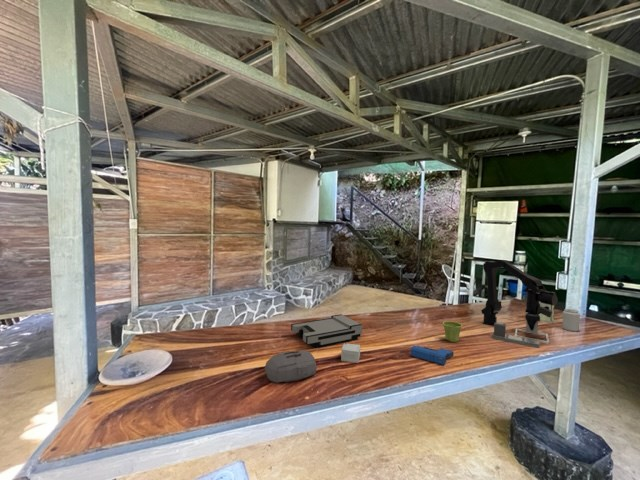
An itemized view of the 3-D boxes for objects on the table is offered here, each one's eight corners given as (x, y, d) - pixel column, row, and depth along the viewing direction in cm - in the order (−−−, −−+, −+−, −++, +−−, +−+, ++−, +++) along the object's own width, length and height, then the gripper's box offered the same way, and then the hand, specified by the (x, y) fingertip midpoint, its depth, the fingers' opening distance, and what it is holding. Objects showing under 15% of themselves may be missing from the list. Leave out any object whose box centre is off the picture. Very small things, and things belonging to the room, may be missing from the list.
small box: (358, 363, 120) (358, 351, 119) (340, 361, 121) (340, 349, 121) (360, 355, 127) (360, 344, 127) (343, 353, 129) (343, 342, 129)
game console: (291, 336, 149) (291, 321, 149) (341, 327, 164) (341, 314, 164) (307, 351, 131) (307, 334, 131) (362, 340, 146) (362, 324, 146)
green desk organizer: (532, 316, 191) (532, 296, 190) (550, 319, 186) (551, 298, 186) (536, 321, 181) (537, 299, 181) (556, 323, 177) (557, 301, 177)
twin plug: (493, 335, 151) (494, 323, 151) (494, 332, 155) (495, 321, 155) (504, 337, 148) (505, 325, 148) (505, 334, 152) (505, 323, 152)
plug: (526, 331, 153) (526, 320, 153) (526, 329, 157) (526, 318, 157) (537, 333, 150) (537, 322, 150) (537, 331, 154) (537, 319, 154)
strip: (492, 338, 150) (492, 335, 150) (493, 333, 157) (494, 331, 157) (539, 348, 138) (539, 345, 138) (538, 342, 145) (538, 339, 145)
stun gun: (420, 340, 139) (410, 347, 127) (454, 348, 129) (446, 356, 117) (420, 349, 138) (409, 356, 126) (453, 357, 129) (446, 366, 117)
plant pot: (442, 342, 144) (443, 325, 144) (441, 335, 153) (442, 320, 153) (462, 344, 141) (463, 327, 141) (460, 338, 150) (460, 322, 150)
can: (572, 328, 169) (572, 308, 168) (582, 332, 161) (583, 312, 161) (559, 327, 170) (559, 308, 169) (568, 331, 162) (569, 311, 162)
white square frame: (514, 337, 152) (514, 335, 152) (515, 329, 164) (515, 328, 164) (549, 343, 143) (549, 342, 143) (547, 335, 155) (547, 334, 155)
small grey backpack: (306, 361, 120) (260, 370, 112) (306, 342, 120) (260, 350, 112) (320, 378, 107) (269, 389, 99) (320, 357, 106) (269, 366, 98)
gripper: (553, 307, 141) (551, 337, 141) (550, 300, 156) (549, 327, 156) (525, 303, 147) (524, 332, 148) (525, 297, 162) (525, 323, 163)
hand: (531, 328), depth 153 cm, fingers closed on plug, 5 cm apart
